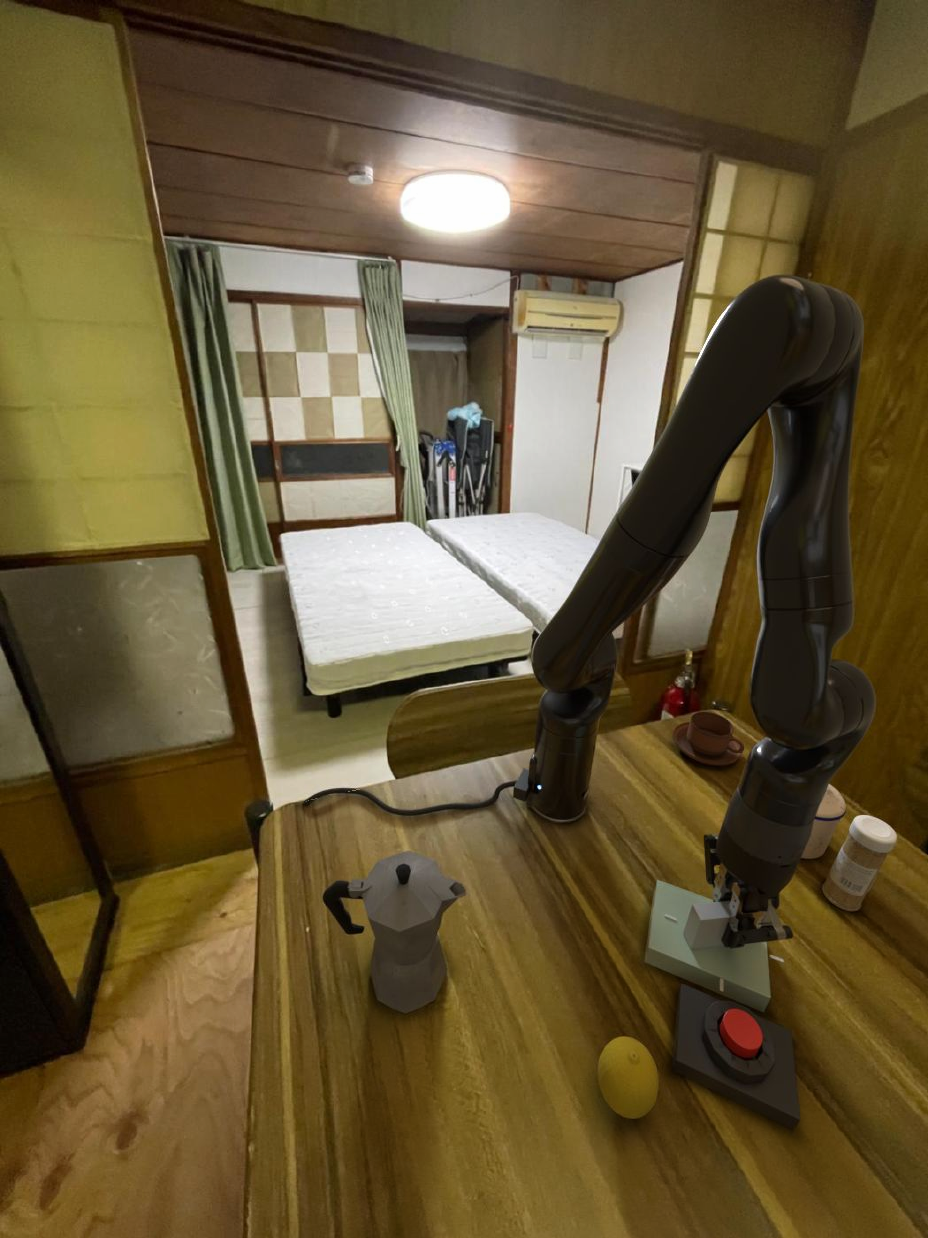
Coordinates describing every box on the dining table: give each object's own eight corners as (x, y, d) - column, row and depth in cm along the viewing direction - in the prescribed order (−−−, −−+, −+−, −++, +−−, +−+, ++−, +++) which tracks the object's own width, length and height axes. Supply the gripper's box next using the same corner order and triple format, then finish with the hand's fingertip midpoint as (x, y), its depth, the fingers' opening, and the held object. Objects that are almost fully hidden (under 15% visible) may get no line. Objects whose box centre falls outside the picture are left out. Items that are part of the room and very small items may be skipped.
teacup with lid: (792, 808, 85) (814, 754, 80) (841, 854, 77) (869, 796, 72) (731, 823, 82) (750, 767, 77) (776, 872, 74) (800, 813, 69)
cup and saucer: (738, 740, 100) (747, 714, 98) (739, 780, 91) (749, 752, 88) (674, 723, 105) (680, 698, 102) (668, 759, 95) (675, 733, 92)
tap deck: (642, 975, 61) (646, 959, 60) (654, 884, 72) (658, 869, 71) (781, 1035, 56) (789, 1019, 54) (771, 927, 67) (778, 912, 65)
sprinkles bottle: (865, 901, 70) (904, 832, 64) (850, 919, 68) (889, 848, 62) (829, 876, 73) (863, 808, 67) (814, 892, 71) (847, 823, 65)
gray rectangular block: (690, 949, 61) (701, 919, 58) (682, 933, 63) (692, 902, 60) (761, 942, 62) (774, 911, 59) (751, 926, 64) (763, 895, 61)
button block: (671, 1071, 53) (679, 1051, 51) (677, 994, 59) (684, 973, 58) (793, 1131, 49) (806, 1111, 47) (785, 1041, 55) (796, 1021, 54)
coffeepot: (463, 932, 66) (466, 832, 58) (464, 1016, 57) (466, 912, 49) (343, 931, 65) (328, 831, 57) (325, 1015, 57) (305, 911, 49)
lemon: (586, 1065, 53) (595, 1023, 50) (637, 1060, 54) (650, 1018, 50) (603, 1137, 48) (615, 1096, 45) (660, 1131, 49) (676, 1090, 45)
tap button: (719, 1047, 52) (723, 1038, 51) (719, 1011, 55) (723, 1002, 54) (759, 1066, 50) (764, 1057, 50) (757, 1027, 53) (761, 1018, 53)
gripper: (696, 785, 60) (668, 884, 68) (772, 894, 48) (727, 999, 55) (756, 781, 61) (721, 879, 68) (846, 886, 48) (792, 992, 56)
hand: (724, 932), depth 62 cm, fingers closed on gray rectangular block, 2 cm apart
